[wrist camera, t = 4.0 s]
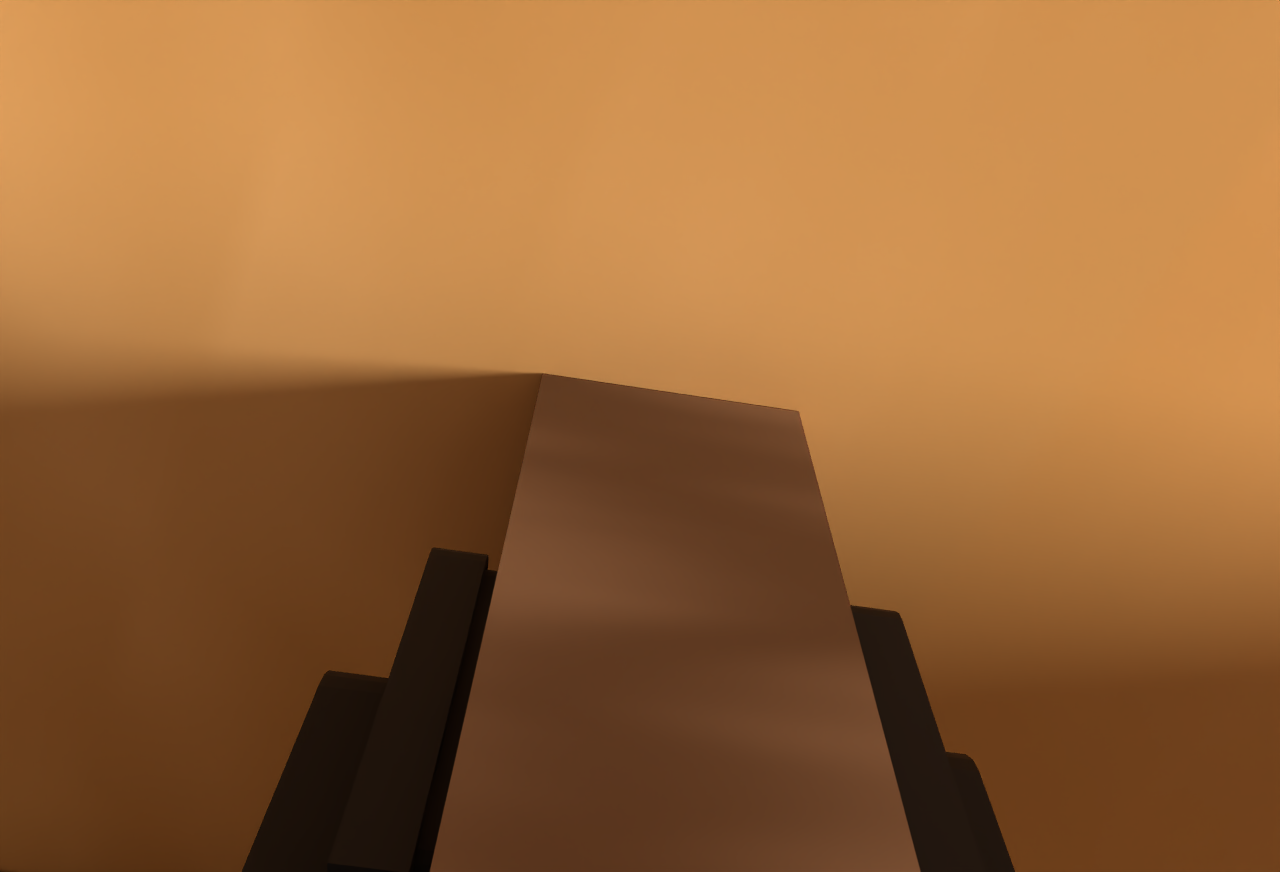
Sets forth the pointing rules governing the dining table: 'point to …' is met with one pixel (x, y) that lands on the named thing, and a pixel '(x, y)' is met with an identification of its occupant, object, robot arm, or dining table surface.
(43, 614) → the dining table surface
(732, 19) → the dining table surface
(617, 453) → the walnut timber post
